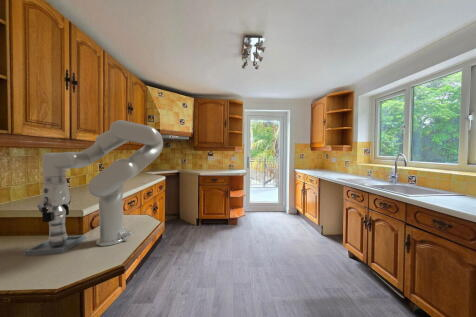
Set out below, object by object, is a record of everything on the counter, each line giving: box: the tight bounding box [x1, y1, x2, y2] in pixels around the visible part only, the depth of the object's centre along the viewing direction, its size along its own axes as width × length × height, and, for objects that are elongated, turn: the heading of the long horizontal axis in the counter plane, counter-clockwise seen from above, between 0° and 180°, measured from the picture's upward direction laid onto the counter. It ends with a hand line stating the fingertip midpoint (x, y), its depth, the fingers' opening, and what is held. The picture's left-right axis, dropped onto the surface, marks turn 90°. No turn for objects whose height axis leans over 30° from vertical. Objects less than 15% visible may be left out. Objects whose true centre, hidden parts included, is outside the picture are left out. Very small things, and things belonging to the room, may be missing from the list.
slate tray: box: [23, 235, 87, 257], centre depth 91 cm, size 15×15×2 cm
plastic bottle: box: [47, 205, 68, 246], centre depth 91 cm, size 6×7×20 cm
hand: (56, 218), depth 91 cm, fingers open, 9 cm apart
